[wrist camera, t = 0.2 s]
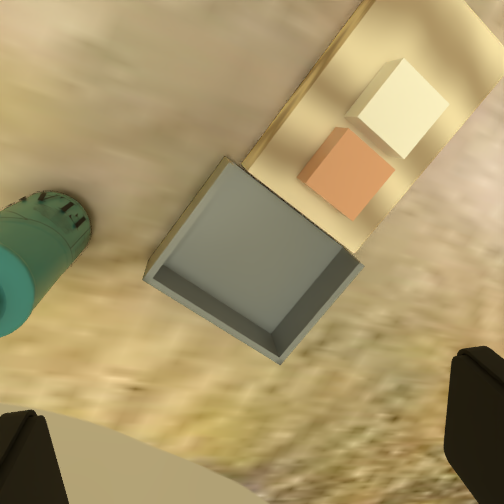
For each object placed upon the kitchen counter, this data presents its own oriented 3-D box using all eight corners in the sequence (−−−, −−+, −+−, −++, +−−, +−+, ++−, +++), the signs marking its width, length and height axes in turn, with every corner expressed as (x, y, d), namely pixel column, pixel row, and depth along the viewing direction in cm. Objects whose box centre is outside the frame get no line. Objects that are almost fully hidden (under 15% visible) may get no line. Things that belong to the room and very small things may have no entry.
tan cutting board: (386, -31, 35) (416, -54, 30) (476, 67, 38) (516, 60, 34) (240, 164, 38) (247, 171, 33) (336, 237, 42) (354, 253, 37)
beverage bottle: (110, 210, 38) (28, 305, 19) (75, 269, 39) (-33, 413, 20) (41, 171, 36) (-125, 233, 17) (7, 234, 37) (-182, 356, 19)
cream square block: (385, 62, 32) (403, 57, 29) (428, 105, 34) (449, 104, 31) (343, 116, 33) (357, 116, 30) (386, 155, 35) (404, 159, 32)
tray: (224, 156, 38) (229, 162, 33) (345, 249, 42) (364, 266, 37) (148, 260, 40) (142, 279, 35) (270, 338, 44) (280, 365, 40)
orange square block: (335, 126, 33) (348, 128, 30) (379, 165, 35) (395, 169, 32) (296, 177, 34) (305, 183, 31) (340, 212, 36) (352, 221, 33)
